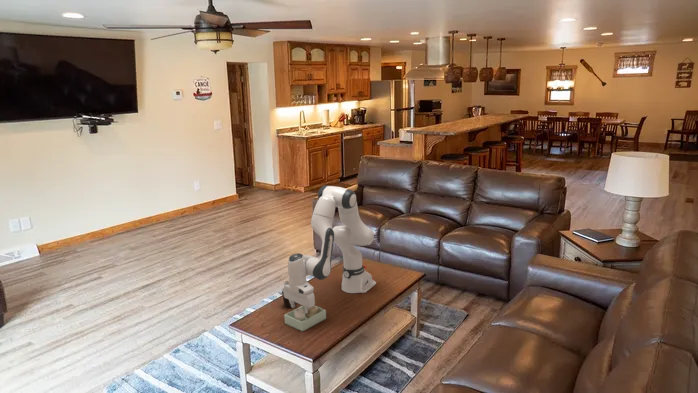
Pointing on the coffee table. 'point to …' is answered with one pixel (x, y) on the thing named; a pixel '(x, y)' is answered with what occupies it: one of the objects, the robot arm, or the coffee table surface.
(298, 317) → the ceramic cylinder
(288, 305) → the coffee mug
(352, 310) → the coffee table surface
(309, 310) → the beech cube
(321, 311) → the tray
